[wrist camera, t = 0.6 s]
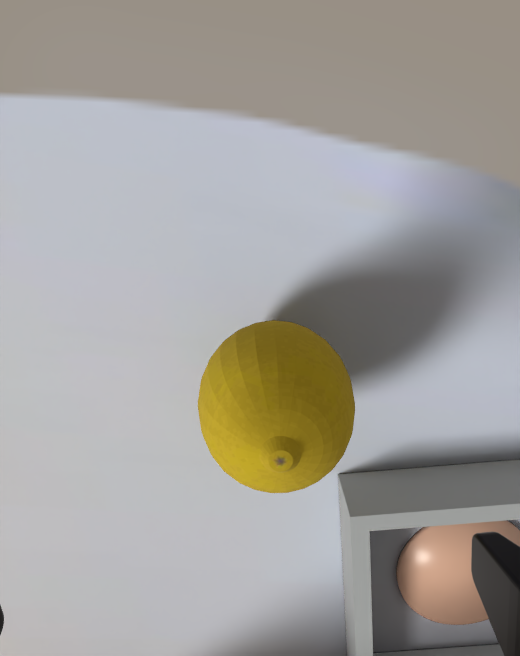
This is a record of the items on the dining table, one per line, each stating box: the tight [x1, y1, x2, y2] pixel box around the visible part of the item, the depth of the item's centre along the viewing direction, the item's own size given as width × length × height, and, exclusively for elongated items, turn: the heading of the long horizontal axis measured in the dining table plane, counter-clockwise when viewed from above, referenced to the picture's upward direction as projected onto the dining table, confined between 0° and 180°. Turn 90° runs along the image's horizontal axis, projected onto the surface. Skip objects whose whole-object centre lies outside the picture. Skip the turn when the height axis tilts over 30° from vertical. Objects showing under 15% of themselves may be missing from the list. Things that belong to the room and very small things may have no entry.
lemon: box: [198, 320, 355, 493], centre depth 16 cm, size 6×6×8 cm
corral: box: [338, 460, 520, 656], centre depth 22 cm, size 13×13×3 cm
